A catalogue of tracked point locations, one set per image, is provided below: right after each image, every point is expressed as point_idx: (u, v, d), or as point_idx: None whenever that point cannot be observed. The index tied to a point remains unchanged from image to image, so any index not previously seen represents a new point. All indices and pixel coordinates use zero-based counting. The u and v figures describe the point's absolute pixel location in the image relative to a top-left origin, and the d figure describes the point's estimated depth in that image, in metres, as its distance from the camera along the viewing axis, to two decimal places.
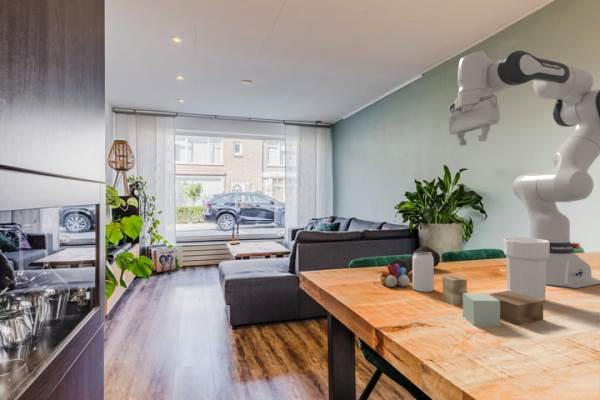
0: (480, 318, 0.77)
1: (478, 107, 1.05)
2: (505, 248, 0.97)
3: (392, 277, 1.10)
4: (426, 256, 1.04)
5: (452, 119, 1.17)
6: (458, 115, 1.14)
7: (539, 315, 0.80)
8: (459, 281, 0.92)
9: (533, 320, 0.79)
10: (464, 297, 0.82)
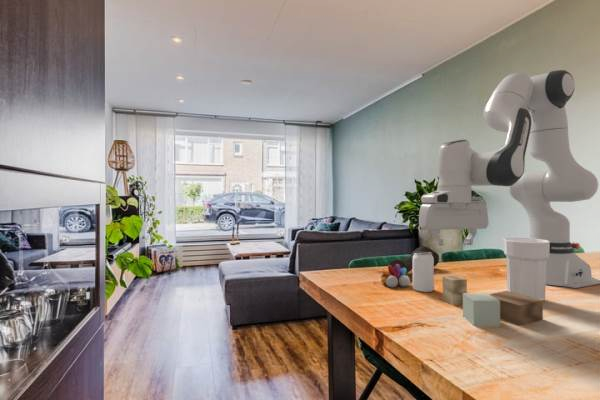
0: (480, 318, 0.77)
1: (473, 207, 0.93)
2: (505, 248, 0.97)
3: (393, 277, 1.10)
4: (426, 256, 1.04)
5: (433, 211, 0.91)
6: (444, 209, 0.92)
7: (539, 315, 0.80)
8: (459, 281, 0.92)
9: (533, 320, 0.79)
10: (464, 297, 0.82)
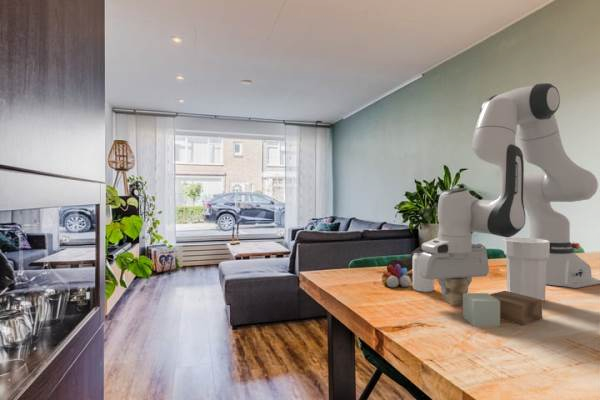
0: (480, 318, 0.77)
1: (473, 256, 0.94)
2: (505, 248, 0.97)
3: (393, 277, 1.09)
4: None
5: (434, 262, 0.91)
6: (445, 258, 0.92)
7: (539, 314, 0.81)
8: (459, 281, 0.92)
9: (534, 319, 0.80)
10: (464, 297, 0.82)
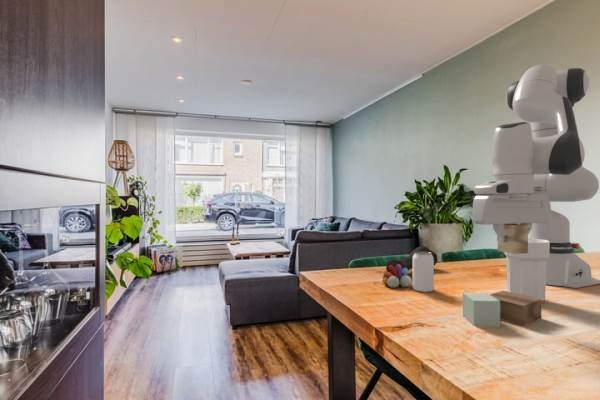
0: (480, 318, 0.77)
1: (535, 199, 0.82)
2: None
3: (394, 278, 1.09)
4: (426, 256, 1.04)
5: (491, 204, 0.79)
6: (503, 200, 0.80)
7: (538, 314, 0.81)
8: (519, 227, 0.81)
9: (534, 319, 0.80)
10: (464, 297, 0.82)
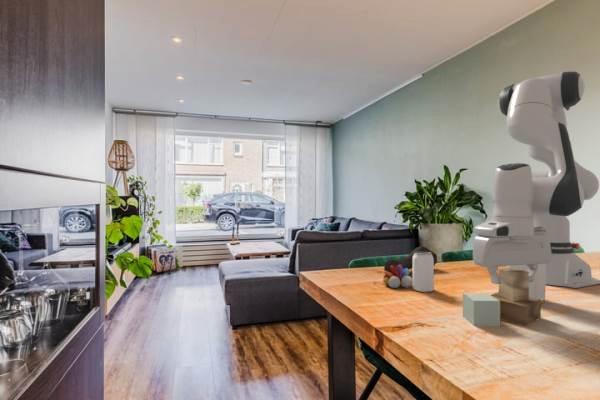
0: (480, 318, 0.77)
1: (535, 240, 0.82)
2: None
3: (395, 278, 1.09)
4: (426, 256, 1.04)
5: (491, 246, 0.80)
6: (503, 243, 0.80)
7: (538, 314, 0.81)
8: (520, 274, 0.81)
9: (534, 319, 0.80)
10: (464, 297, 0.82)
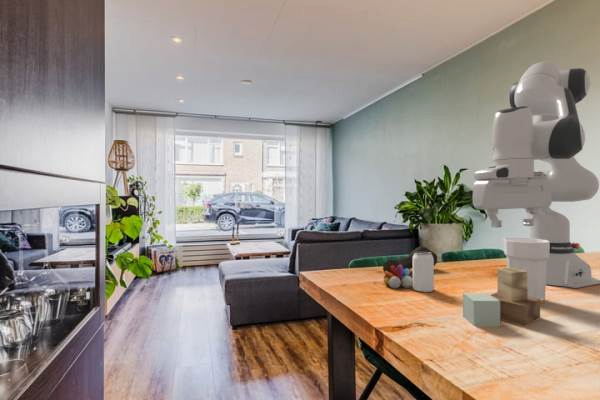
0: (480, 318, 0.77)
1: (535, 183, 0.82)
2: (505, 248, 0.97)
3: (395, 278, 1.08)
4: (426, 256, 1.04)
5: (491, 189, 0.79)
6: (503, 185, 0.80)
7: (538, 313, 0.81)
8: (519, 274, 0.81)
9: (534, 319, 0.80)
10: (464, 297, 0.82)
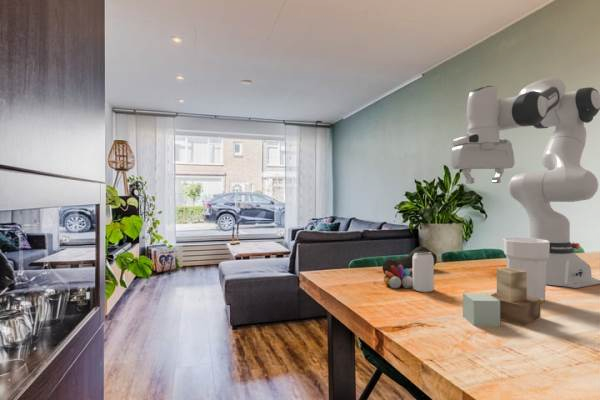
0: (480, 318, 0.77)
1: (501, 148, 1.02)
2: (505, 248, 0.97)
3: (396, 278, 1.08)
4: (426, 256, 1.04)
5: (465, 151, 0.99)
6: (475, 149, 1.00)
7: (538, 313, 0.81)
8: (518, 274, 0.81)
9: (534, 319, 0.80)
10: (464, 297, 0.82)
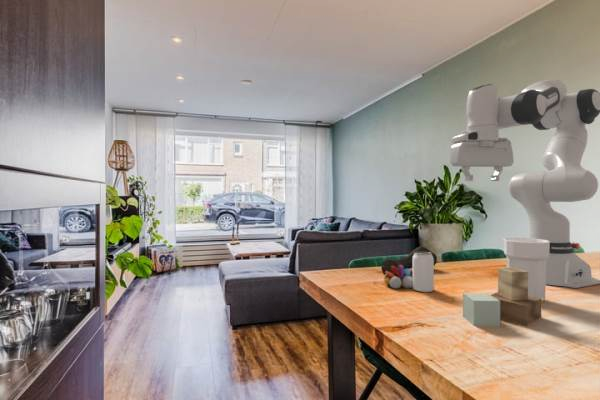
0: (480, 318, 0.77)
1: (500, 146, 1.03)
2: (505, 248, 0.97)
3: (396, 278, 1.08)
4: (426, 256, 1.04)
5: (464, 149, 1.00)
6: (474, 146, 1.01)
7: (539, 313, 0.81)
8: (519, 273, 0.81)
9: (535, 319, 0.80)
10: (464, 297, 0.82)
